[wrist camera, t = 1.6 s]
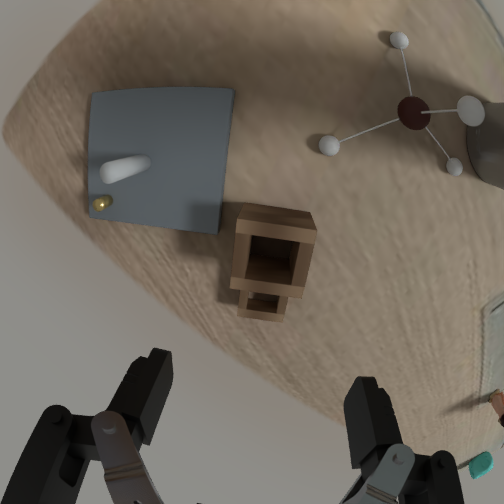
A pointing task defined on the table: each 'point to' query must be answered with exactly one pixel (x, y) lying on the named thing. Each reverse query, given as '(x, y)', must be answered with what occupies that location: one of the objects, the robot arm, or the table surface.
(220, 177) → the slate board
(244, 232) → the brown hollow open box
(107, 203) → the brass dowel
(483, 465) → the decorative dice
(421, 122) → the molecular model
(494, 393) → the grandmother figurine
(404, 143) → the table surface
